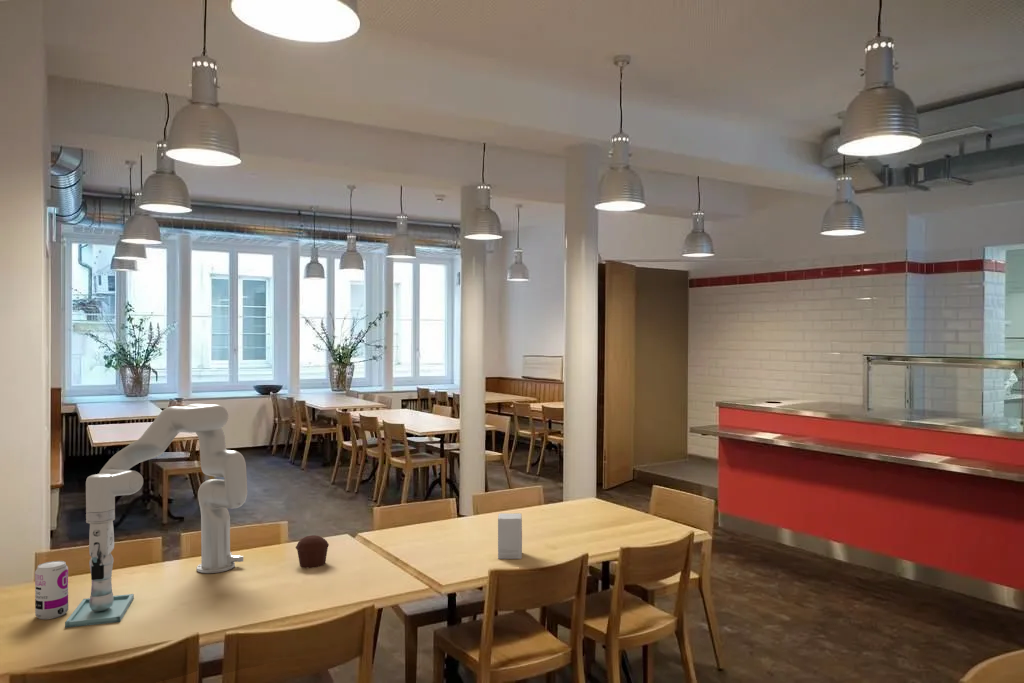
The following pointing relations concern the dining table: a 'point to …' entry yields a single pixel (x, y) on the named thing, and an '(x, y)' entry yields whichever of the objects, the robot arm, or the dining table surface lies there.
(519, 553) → the supplement box
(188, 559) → the dining table surface
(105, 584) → the plastic bottle
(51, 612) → the supplement can
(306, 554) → the muffin
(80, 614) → the tray
